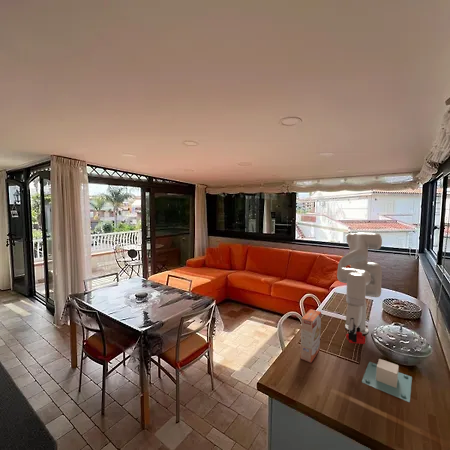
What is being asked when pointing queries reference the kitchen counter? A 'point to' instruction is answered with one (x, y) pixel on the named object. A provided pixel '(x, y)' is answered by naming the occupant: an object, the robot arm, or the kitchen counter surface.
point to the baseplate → (402, 385)
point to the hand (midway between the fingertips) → (354, 337)
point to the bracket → (358, 338)
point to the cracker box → (310, 335)
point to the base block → (387, 373)
